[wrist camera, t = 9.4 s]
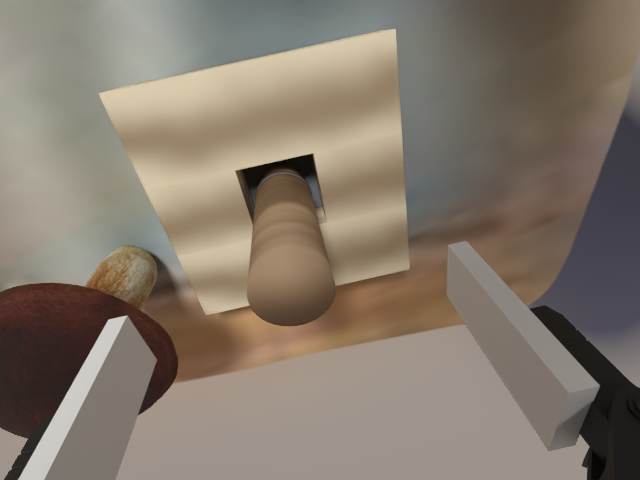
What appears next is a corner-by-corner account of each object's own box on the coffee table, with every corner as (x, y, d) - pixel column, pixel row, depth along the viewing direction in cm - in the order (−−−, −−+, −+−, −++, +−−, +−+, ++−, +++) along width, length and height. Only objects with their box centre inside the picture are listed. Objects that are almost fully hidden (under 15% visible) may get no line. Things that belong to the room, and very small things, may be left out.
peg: (250, 164, 26) (233, 267, 14) (302, 152, 27) (328, 245, 15) (264, 211, 29) (259, 335, 17) (312, 200, 29) (342, 316, 17)
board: (117, 87, 23) (98, 93, 20) (381, 30, 23) (395, 29, 20) (211, 293, 32) (206, 315, 29) (398, 250, 32) (409, 269, 30)
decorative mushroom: (103, 173, 25) (-67, 309, 13) (229, 249, 30) (198, 406, 17) (42, 270, 29) (-142, 457, 16) (164, 326, 33) (97, 506, 20)
